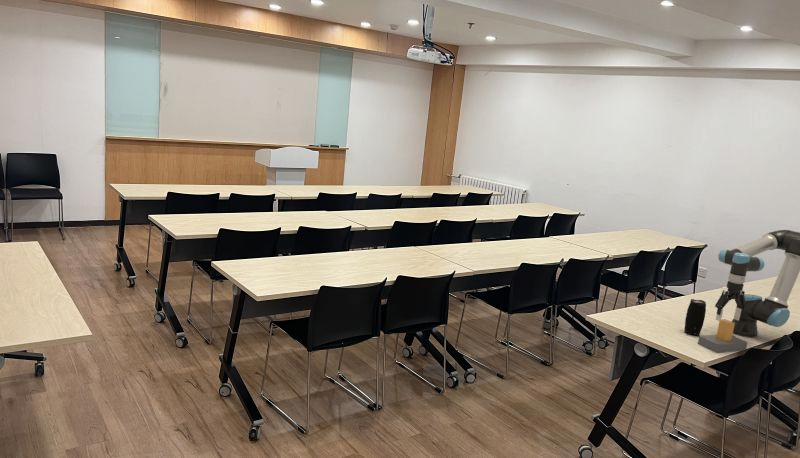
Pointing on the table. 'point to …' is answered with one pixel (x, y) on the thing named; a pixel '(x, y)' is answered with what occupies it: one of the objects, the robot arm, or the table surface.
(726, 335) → the plug
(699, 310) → the portable speaker
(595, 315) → the table surface
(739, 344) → the grey slotted base
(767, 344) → the table surface
